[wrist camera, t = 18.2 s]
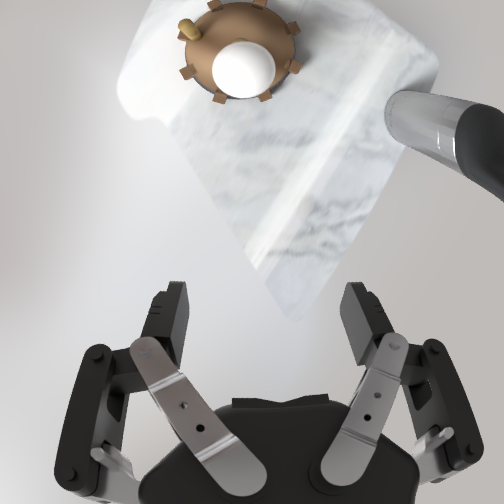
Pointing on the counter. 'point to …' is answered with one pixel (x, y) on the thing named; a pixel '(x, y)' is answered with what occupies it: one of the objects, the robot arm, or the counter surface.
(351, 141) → the counter surface
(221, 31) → the sprocket
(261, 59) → the lightbulb
